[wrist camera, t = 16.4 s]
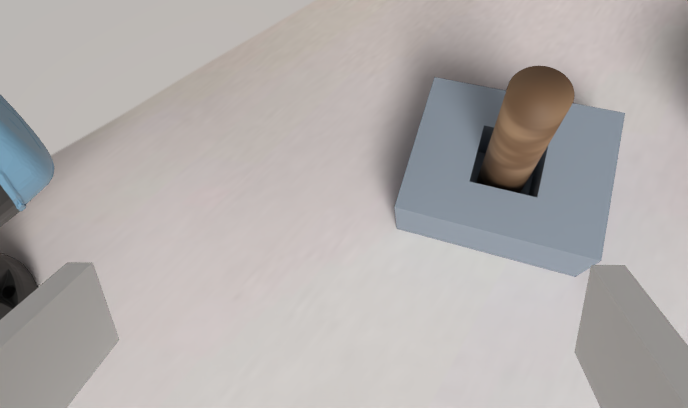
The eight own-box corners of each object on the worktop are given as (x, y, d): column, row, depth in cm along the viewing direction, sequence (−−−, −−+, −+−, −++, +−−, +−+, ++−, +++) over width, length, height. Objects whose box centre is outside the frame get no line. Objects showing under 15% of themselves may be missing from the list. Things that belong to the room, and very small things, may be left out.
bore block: (396, 228, 44) (394, 207, 39) (432, 111, 48) (434, 77, 42) (575, 276, 40) (601, 260, 35) (598, 146, 44) (624, 113, 39)
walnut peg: (472, 198, 43) (500, 113, 29) (482, 160, 44) (514, 60, 30) (516, 209, 42) (568, 126, 28) (525, 170, 43) (579, 72, 29)
